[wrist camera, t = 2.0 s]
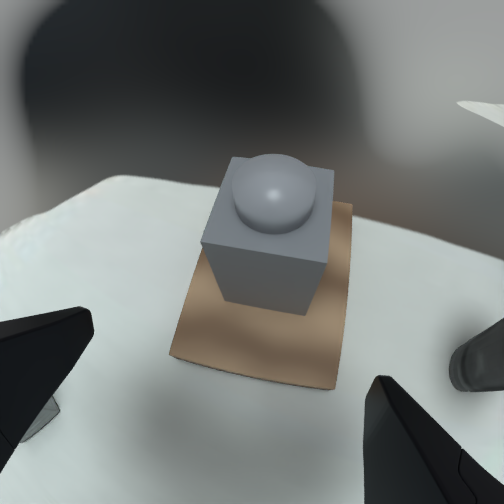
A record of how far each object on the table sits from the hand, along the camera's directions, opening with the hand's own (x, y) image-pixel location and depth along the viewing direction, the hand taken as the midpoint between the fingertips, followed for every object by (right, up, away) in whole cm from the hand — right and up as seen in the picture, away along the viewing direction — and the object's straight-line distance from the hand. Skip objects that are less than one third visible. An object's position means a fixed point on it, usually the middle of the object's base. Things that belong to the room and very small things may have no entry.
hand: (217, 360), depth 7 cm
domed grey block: (+3, +1, +14) cm, 15 cm away
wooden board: (+3, +1, +16) cm, 16 cm away
